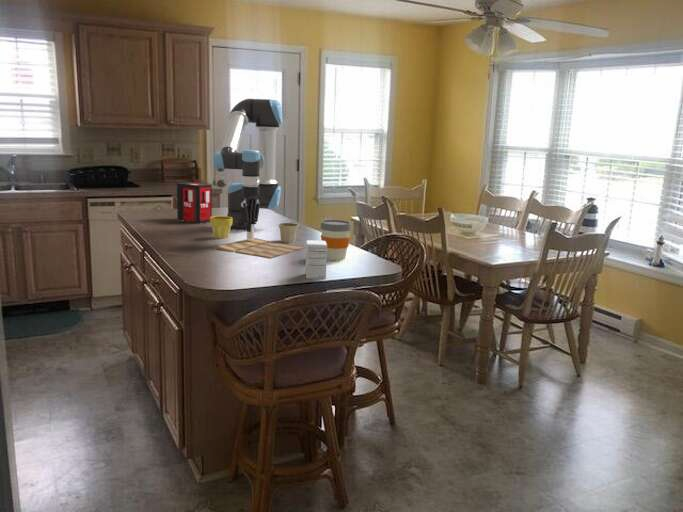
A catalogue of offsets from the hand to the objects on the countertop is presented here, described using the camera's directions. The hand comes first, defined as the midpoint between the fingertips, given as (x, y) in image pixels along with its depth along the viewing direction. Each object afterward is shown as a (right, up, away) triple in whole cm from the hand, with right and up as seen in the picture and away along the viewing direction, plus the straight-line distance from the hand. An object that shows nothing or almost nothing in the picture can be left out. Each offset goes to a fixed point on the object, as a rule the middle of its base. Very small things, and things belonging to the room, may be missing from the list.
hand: (250, 238), depth 264 cm
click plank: (-2, -4, -5) cm, 7 cm away
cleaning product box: (-39, +11, +55) cm, 68 cm away
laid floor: (+11, -6, -12) cm, 17 cm away
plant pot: (-16, 0, +13) cm, 20 cm away
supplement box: (+31, -15, -49) cm, 60 cm away
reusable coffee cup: (+38, -9, -18) cm, 43 cm away
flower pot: (+16, -2, +9) cm, 18 cm away
